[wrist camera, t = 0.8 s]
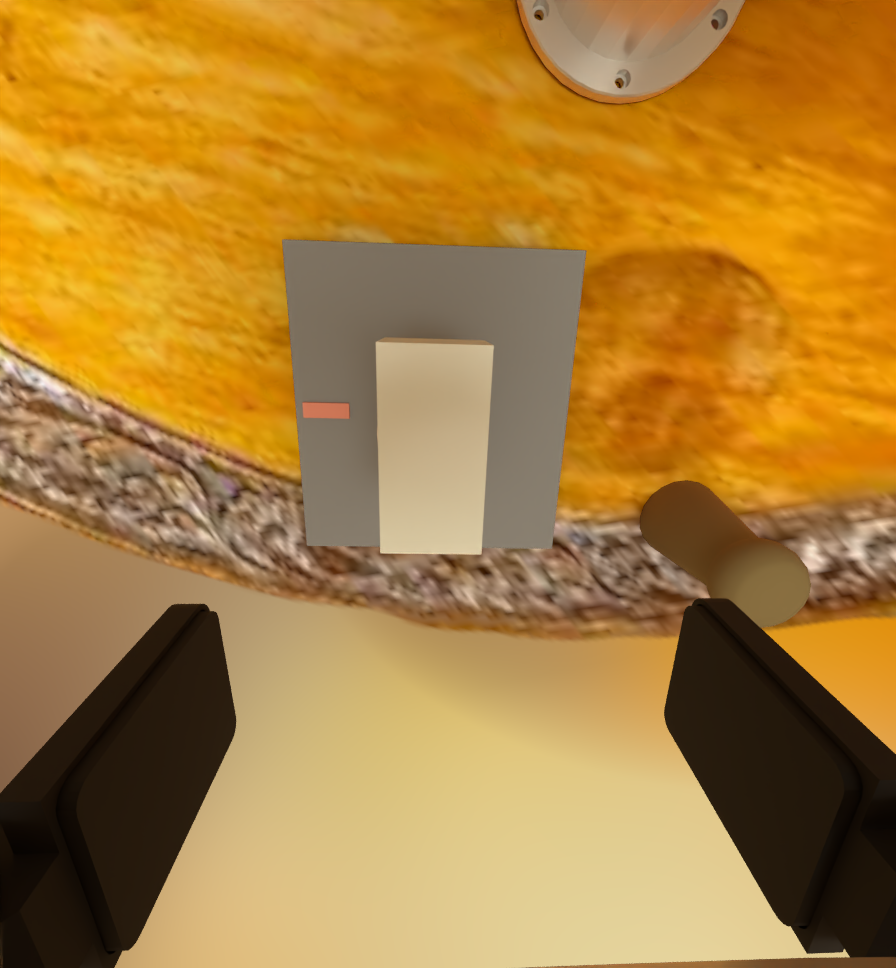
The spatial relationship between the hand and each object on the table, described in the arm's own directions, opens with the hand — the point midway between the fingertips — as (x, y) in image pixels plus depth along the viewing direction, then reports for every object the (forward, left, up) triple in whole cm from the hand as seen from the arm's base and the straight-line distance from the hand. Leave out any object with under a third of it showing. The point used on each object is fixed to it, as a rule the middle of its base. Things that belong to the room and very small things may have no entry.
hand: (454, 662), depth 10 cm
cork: (+8, +19, -25) cm, 32 cm away
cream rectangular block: (0, 0, -20) cm, 20 cm away
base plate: (0, 0, -25) cm, 25 cm away
